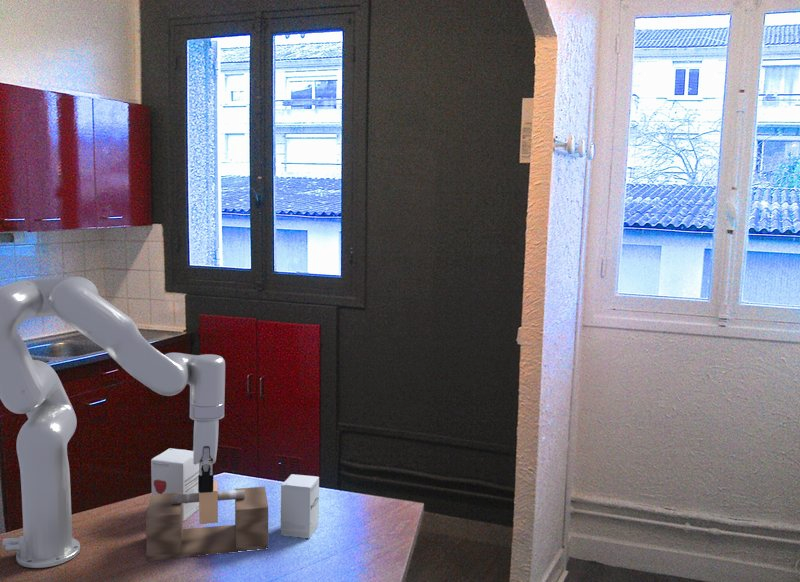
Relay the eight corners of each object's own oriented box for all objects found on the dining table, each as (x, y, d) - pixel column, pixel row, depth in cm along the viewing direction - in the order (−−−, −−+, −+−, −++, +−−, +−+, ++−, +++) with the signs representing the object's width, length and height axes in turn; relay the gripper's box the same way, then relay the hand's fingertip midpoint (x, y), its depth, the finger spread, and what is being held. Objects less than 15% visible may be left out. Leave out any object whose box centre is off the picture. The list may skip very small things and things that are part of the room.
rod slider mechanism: (146, 560, 159) (145, 508, 157) (151, 535, 170) (150, 486, 169) (268, 549, 165) (268, 498, 163) (264, 526, 177) (264, 478, 175)
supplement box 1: (150, 517, 180) (149, 459, 178) (170, 503, 188) (169, 447, 186) (183, 522, 178) (182, 463, 176) (202, 507, 186) (201, 450, 184)
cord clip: (199, 524, 163) (199, 492, 162) (199, 512, 169) (199, 481, 168) (217, 522, 164) (217, 490, 163) (217, 511, 170) (217, 480, 169)
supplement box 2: (309, 539, 170) (310, 487, 169) (279, 536, 172) (279, 484, 170) (319, 525, 178) (320, 476, 176) (290, 522, 179) (290, 473, 177)
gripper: (191, 399, 171) (190, 470, 173) (188, 422, 154) (187, 499, 156) (224, 399, 173) (222, 468, 175) (224, 421, 156) (223, 498, 158)
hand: (206, 483), depth 166 cm, fingers open, 9 cm apart
